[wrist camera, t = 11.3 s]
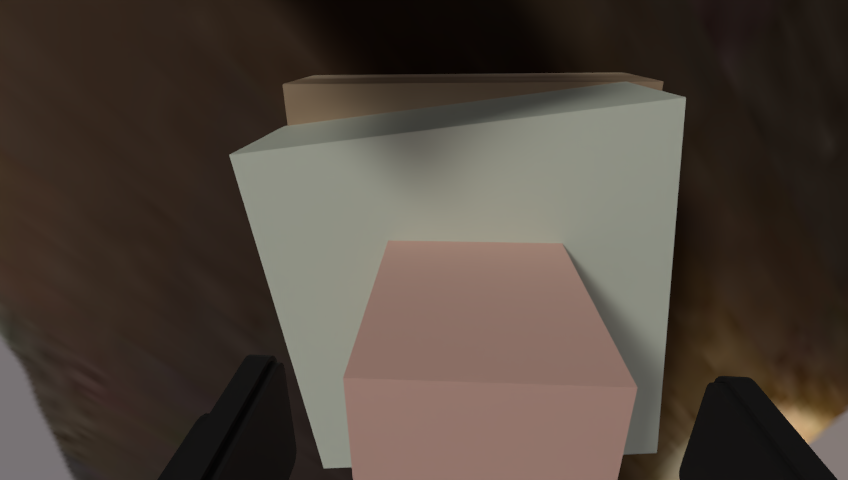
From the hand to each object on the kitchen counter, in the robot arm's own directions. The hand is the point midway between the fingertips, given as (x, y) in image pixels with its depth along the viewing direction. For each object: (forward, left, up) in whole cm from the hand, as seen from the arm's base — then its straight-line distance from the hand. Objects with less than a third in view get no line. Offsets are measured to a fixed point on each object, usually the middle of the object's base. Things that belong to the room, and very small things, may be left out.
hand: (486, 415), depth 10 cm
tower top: (0, 0, -9) cm, 9 cm away
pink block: (0, 0, -4) cm, 4 cm away
